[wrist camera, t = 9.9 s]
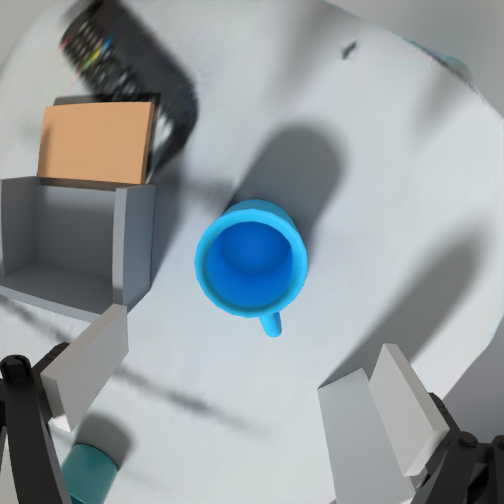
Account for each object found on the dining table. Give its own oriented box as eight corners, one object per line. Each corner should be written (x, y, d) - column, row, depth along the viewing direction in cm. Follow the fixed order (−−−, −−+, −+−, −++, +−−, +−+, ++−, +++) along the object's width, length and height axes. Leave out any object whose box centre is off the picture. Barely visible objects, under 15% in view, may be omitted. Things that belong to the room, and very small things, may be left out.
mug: (202, 211, 30) (180, 226, 22) (286, 189, 29) (292, 195, 22) (237, 323, 33) (228, 367, 25) (314, 305, 32) (327, 345, 24)
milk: (377, 397, 35) (434, 542, 13) (334, 417, 36) (366, 568, 14) (361, 365, 34) (426, 527, 12) (315, 388, 35) (344, 558, 13)
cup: (55, 443, 42) (29, 483, 31) (95, 440, 40) (68, 488, 29) (85, 474, 43) (64, 514, 33) (128, 474, 42) (108, 521, 31)
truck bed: (36, 265, 33) (-12, 289, 24) (36, 175, 30) (-18, 181, 21) (149, 290, 33) (114, 328, 24) (156, 184, 30) (115, 191, 21)
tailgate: (37, 176, 29) (45, 106, 27) (43, 176, 30) (51, 107, 28) (140, 184, 29) (150, 102, 27) (144, 183, 30) (155, 104, 28)
